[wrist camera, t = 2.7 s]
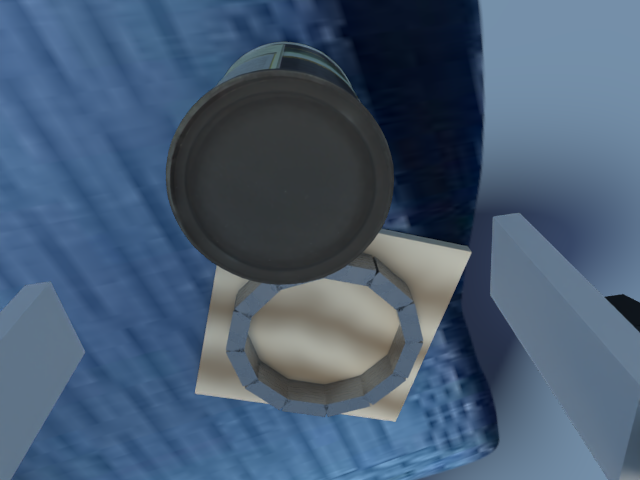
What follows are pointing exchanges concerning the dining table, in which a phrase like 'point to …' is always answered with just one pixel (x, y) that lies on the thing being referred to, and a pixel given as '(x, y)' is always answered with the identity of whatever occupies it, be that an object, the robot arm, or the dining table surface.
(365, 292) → the birch board
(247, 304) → the steel collar
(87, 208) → the dining table surface
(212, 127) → the coffee can
